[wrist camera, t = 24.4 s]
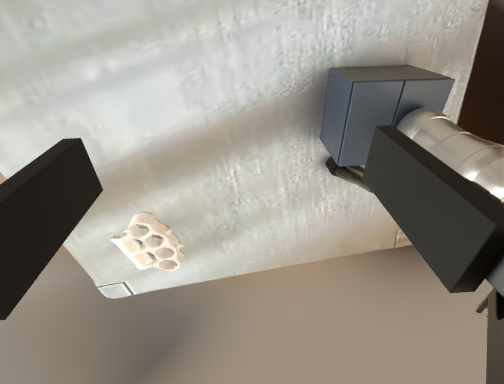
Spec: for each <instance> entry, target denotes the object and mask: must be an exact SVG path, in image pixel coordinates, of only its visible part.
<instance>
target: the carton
mask: <svg viewBox="0 0 504 384" xmlns="http://www.w3.org/2000/svg"><path fill="white" fill-rule="evenodd" d="M402 80H403V81H404V83H403V87H402V90H401V94H400V97H399V100H398V104H397V107H396V111H395V114H394V117H393V121H392V124H391V125H393V126H394V127H395V128H397V126H398V124H399V123H400V121H401V120H402V119H403V118H404V117H405V116H406V115H407V114H409V113H410V112H412V111H414V110H416V109H420V108H431V109H436V110H438V111H441V112H442V111H443V109H444V106H445V104H446V101H447V99H448V96H449V94H450V91H451V89H452V86H453V84H454V81H455V79H451V77H447V76H444V75H441V74H437V73H434V72H431V71H427V70H424V69H421V68H417V67H414V66H411V65H403V66H374V67H346V68H330V71H329V78H328V86H327V93H326V100H325V108H324V115H323V122H322V130H321V137H320V140H321V141H322V143H323V144H324V146H325V147H326V149H327V150H328V152H329V153H330V155H331V156H332V158H333V159H334V161H335V162H336V164H339V159H340V154H341V149H342V143H343V138H344V133H345V128H346V123H347V117H348V112H349V107H350V102H351V96H352V91H353V86H354V82H378V81H402Z"/></svg>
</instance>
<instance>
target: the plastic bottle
mask: <svg viewBox="0 0 504 384" xmlns="http://www.w3.org/2000/svg"><path fill="white" fill-rule="evenodd" d="M397 129H398V130H399V131H401V132H402V133H404V134H405V135H406V136H408V137H409V138H411V139H412V140H413V141H415V142H416V143H417V144H419V145H420V146H422V147H423V148H424V149H426V150H427V151H429V152H430V153H431V154H433V155H434V156H435V157H437V158H438V159H440V160H441V161H442V162H444V163H445V164H447V165H448V166H449V167H451V168H452V169H454V170H455V171H456V172H458V173H459V174H460V175H462V176H463V177H465V178H467V179H469V180H472V181H474V182H476V183H478V184H480V185H481V186H482V187H484V188H485V189H487V190H488V191H489V192H491V194H494V195H495V196H497V197H498V198H499V199H501V202H504V146H503V145H500V144H497V143H493V142H490V141H487V140H484V139H482V138H479V137H477V136H475V135H473V134H470V133H468V132H466V131H464V130H463V129H461V128H460V127H459V126H457V125H456V124H454V123H453V122H451V120H450V119H449V118H448V117H447V116H446V115H444V114H443V113H442V112H441V111H438V110H436V109H431V108H420V109H416V110H414V111H412V112H410V113H409V114H407V115H406V116H405V117H404V118H403V119H402V120H401V121H400V123H399V124H398V126H397Z"/></svg>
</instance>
